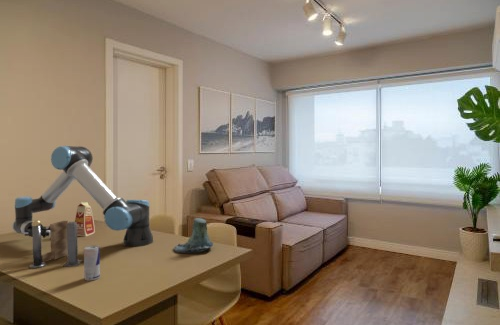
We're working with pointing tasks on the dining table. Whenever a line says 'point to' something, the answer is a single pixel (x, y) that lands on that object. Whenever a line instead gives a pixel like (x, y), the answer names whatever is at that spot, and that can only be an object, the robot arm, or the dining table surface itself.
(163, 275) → the dining table surface
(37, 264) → the hinge post
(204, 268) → the dining table surface
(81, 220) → the milk carton
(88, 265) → the energy drink
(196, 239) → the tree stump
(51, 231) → the gate
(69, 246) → the dark grey bar
